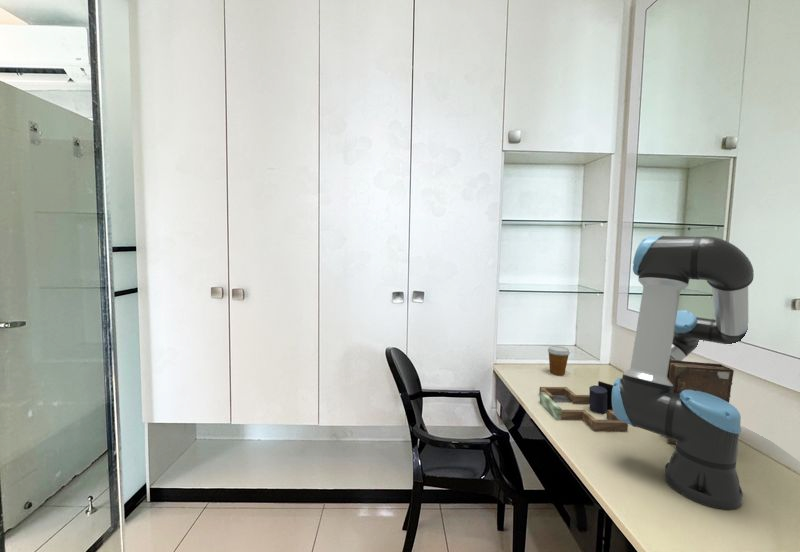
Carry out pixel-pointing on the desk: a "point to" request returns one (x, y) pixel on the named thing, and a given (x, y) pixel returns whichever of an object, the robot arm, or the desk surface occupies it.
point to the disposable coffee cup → (558, 360)
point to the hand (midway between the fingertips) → (618, 401)
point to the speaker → (601, 397)
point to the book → (700, 379)
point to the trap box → (565, 395)
